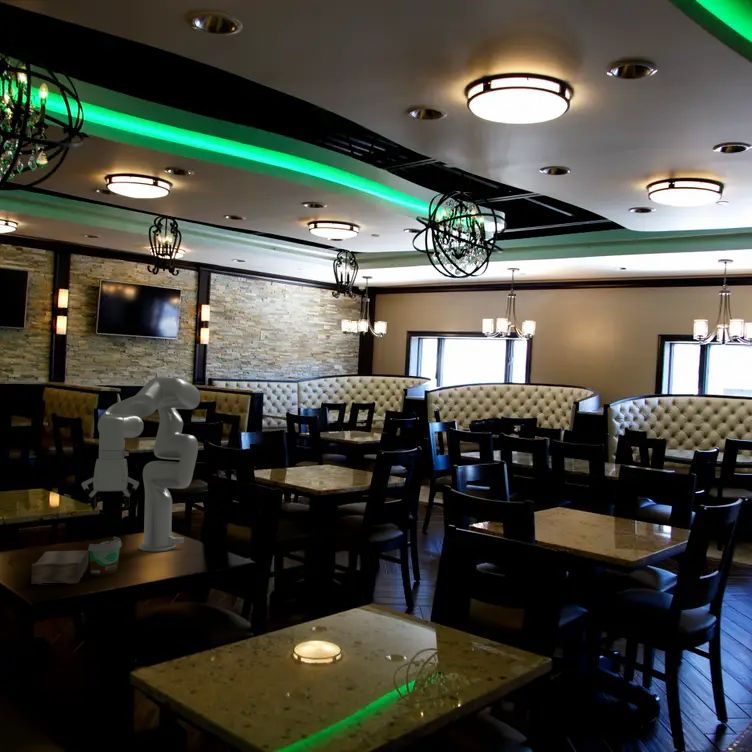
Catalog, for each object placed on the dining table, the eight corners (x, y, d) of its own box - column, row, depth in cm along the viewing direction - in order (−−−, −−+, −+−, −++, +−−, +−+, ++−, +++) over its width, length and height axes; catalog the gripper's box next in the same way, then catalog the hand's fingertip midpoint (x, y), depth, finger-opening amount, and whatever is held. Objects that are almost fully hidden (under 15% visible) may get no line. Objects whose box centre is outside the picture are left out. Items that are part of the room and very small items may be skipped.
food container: (103, 578, 226) (104, 546, 226) (87, 576, 228) (88, 544, 228) (129, 568, 237) (130, 538, 237) (113, 566, 239) (114, 536, 239)
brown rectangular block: (88, 565, 239) (88, 547, 239) (77, 583, 220) (78, 563, 220) (45, 566, 236) (45, 548, 236) (31, 584, 217) (31, 564, 217)
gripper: (140, 454, 238) (139, 506, 238) (84, 453, 234) (83, 507, 234) (138, 456, 231) (137, 510, 231) (80, 456, 227) (78, 511, 227)
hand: (109, 508), depth 232 cm, fingers open, 9 cm apart
